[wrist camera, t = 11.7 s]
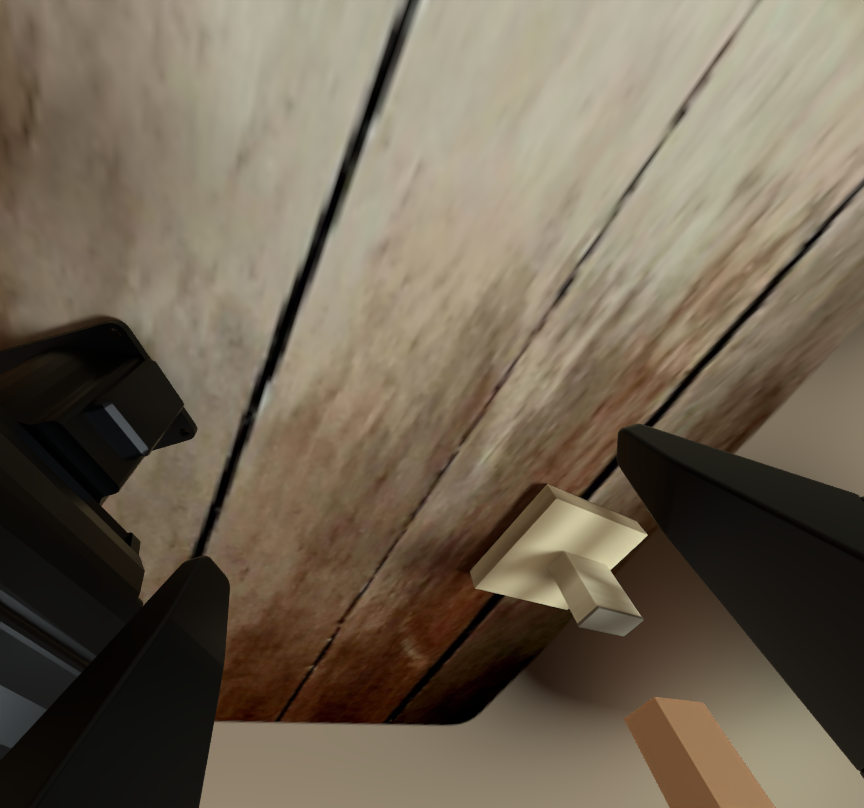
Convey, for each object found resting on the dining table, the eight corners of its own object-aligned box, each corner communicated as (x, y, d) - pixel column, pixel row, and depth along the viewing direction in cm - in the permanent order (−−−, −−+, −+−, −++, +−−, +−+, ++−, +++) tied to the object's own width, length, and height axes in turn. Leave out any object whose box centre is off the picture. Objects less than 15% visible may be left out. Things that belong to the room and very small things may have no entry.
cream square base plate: (469, 571, 31) (494, 651, 26) (546, 483, 27) (594, 555, 22) (559, 594, 35) (596, 666, 30) (635, 521, 32) (693, 588, 26)
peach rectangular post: (623, 718, 22) (709, 883, 17) (654, 696, 21) (753, 862, 16) (673, 722, 24) (763, 869, 19) (703, 702, 23) (805, 850, 18)
